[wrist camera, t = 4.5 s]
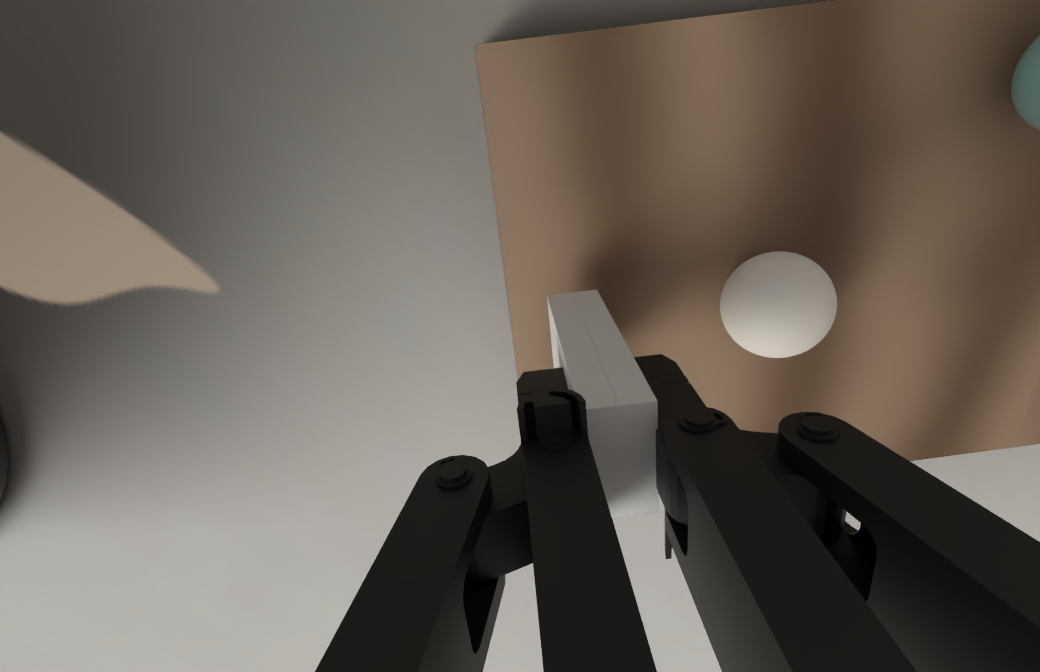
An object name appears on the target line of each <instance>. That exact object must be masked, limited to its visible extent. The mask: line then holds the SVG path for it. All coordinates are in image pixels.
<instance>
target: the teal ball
mask: <svg viewBox="0 0 1040 672" xmlns="http://www.w3.org/2000/svg"><path fill="white" fill-rule="evenodd" d="M1011 95H1012V100H1013V104H1014V106H1015V108H1016V110H1017V112H1018V113H1019V115H1020V116H1021V117H1022V118H1023V119H1024V120H1025V121H1026V122H1027V123H1028V124H1030V125H1031V126H1033V127H1034V128H1036V129H1038V130H1040V35H1039V36H1038V37H1037V38H1036V39H1035V40H1034V41H1033V42H1032V43H1031V44H1030V45H1029V47H1028V48H1027V49H1026V51H1025V52H1024V53H1023V55H1022V57H1021V58H1020V60H1019V62H1018V64H1017V66H1016V68H1015V71H1014V74H1013V78H1012V84H1011Z"/></svg>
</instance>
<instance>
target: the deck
mask: <svg viewBox="0 0 1040 672" xmlns="http://www.w3.org/2000/svg"><path fill="white" fill-rule="evenodd" d="M1039 35H1040V0H831V1H823V2H815V3H807V4H799V5H791V6H783V7H775V8H767V9H758V10H750V11H742V12H734V13H726V14H718V15H710V16H702V17H694V18H686V19H678V20H670V21H662V22H654V23H646V24H638V25H629V26H621V27H613V28H605V29H597V30H589V31H581V32H573V33H565V34H557V35H549V36H541V37H533V38H525V39H517V40H509V41H500V42H492V43H484V44H476V45H475V52H476V59H477V67H478V75H479V82H480V90H481V98H482V105H483V113H484V121H485V128H486V136H487V144H488V151H489V159H490V167H491V174H492V182H493V190H494V197H495V205H496V213H497V220H498V228H499V235H500V243H501V251H502V258H503V266H504V274H505V281H506V289H507V297H508V304H509V312H510V320H511V327H512V335H513V343H514V350H515V358H516V366H517V373H518V380H519V378H520V377H521V375H522V374H523V372H527V371H536V370H544V369H552V368H554V365H553V354H552V344H551V333H550V322H549V312H548V301H547V296H548V295H556V294H564V293H573V292H581V291H589V290H597V291H598V293H599V294H600V296H601V298H602V300H603V302H604V304H605V305H606V307H607V309H608V311H609V313H610V315H611V316H612V318H613V320H614V322H615V324H616V326H617V327H618V329H619V331H620V333H621V335H622V337H623V339H624V340H625V342H626V344H627V346H628V348H629V350H630V351H631V353H632V355H633V357H640V356H649V355H657V354H662V355H664V356H666V357H668V358H669V359H671V360H673V361H675V362H676V363H677V365H678V366H679V367H680V369H681V370H682V372H683V374H684V375H685V376H686V378H687V379H688V381H689V383H691V385H692V386H693V388H694V389H695V391H696V392H697V394H698V395H699V396H700V398H701V399H702V401H703V402H704V404H705V405H706V407H709V408H714V409H716V410H719V411H721V412H724V413H725V414H726V415H728V416H729V417H730V418H731V419H732V420H733V421H734V423H735V424H736V426H737V427H738V428H739V429H741V430H747V431H754V432H768V433H778V424H779V423H780V421H781V420H782V418H784V417H786V416H788V415H790V414H793V413H800V412H819V413H823V414H827V415H831V416H834V417H837V418H839V419H841V420H843V421H845V422H847V423H849V424H850V425H852V426H854V427H855V428H857V429H858V430H860V431H862V432H863V433H865V434H867V435H868V436H870V437H871V438H873V439H875V440H876V441H878V442H879V443H881V444H883V445H884V446H886V447H887V448H889V449H891V450H892V451H894V452H895V453H897V454H899V455H900V456H902V457H904V458H905V459H907V460H908V461H913V460H921V459H928V458H936V457H943V456H951V455H959V454H966V453H974V452H981V451H989V450H996V449H1004V448H1011V447H1019V446H1026V445H1034V444H1040V130H1038V129H1036V128H1034V127H1033V126H1031V125H1030V124H1028V123H1027V122H1026V121H1025V120H1024V119H1023V118H1022V117H1021V116H1020V115H1019V113H1018V112H1017V110H1016V108H1015V106H1014V104H1013V100H1012V95H1011V84H1012V78H1013V74H1014V71H1015V68H1016V66H1017V64H1018V62H1019V60H1020V58H1021V57H1022V55H1023V53H1024V52H1025V51H1026V49H1027V48H1028V47H1029V45H1030V44H1031V43H1032V42H1033V41H1034V40H1035V39H1036V38H1037V37H1038V36H1039ZM776 251H784V252H792V253H797V254H799V255H802V256H805V257H807V258H809V259H811V260H812V261H814V262H815V263H817V264H818V265H819V266H820V267H821V268H822V269H823V270H824V271H825V272H826V273H827V274H828V276H829V277H830V279H831V281H832V283H833V285H834V288H835V291H836V296H837V311H836V316H835V319H834V322H833V324H832V326H831V328H830V330H829V332H828V333H827V334H826V336H825V337H824V338H823V339H822V340H821V341H820V342H819V343H818V344H817V345H815V346H814V347H812V348H811V349H809V350H807V351H806V352H803V353H801V354H798V355H795V356H791V357H786V358H769V357H763V356H759V355H756V354H754V353H752V352H750V351H747V350H745V349H744V348H743V347H741V346H740V345H739V344H737V343H736V342H735V341H734V340H733V339H732V337H731V336H730V335H729V333H728V332H727V330H726V328H725V326H724V324H723V321H722V318H721V313H720V298H721V294H722V290H723V288H724V285H725V283H726V281H727V279H728V278H729V277H730V275H731V274H732V273H733V272H734V270H735V269H736V268H737V267H739V266H740V265H741V264H742V263H744V262H745V261H747V260H749V259H750V258H753V257H755V256H757V255H760V254H763V253H768V252H776ZM658 494H659V493H658Z"/></svg>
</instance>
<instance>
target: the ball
mask: <svg viewBox="0 0 1040 672" xmlns="http://www.w3.org/2000/svg"><path fill="white" fill-rule="evenodd" d="M836 311H837V296H836V291H835V288H834V285H833V283H832V281H831V279H830V277H829V276H828V274H827V273H826V272H825V271H824V270H823V269H822V268H821V267H820V266H819V265H818V264H817V263H815V262H814V261H812V260H811V259H809V258H807V257H805V256H802V255H799V254H797V253H792V252H784V251H776V252H768V253H763V254H760V255H757V256H755V257H753V258H750V259H749V260H747V261H745V262H744V263H742V264H741V265H740V266H739V267H737V268H736V269H735V270H734V272H733V273H732V274H731V275H730V277H729V278H728V279H727V281H726V283H725V285H724V288H723V290H722V294H721V298H720V313H721V318H722V321H723V324H724V326H725V328H726V330H727V332H728V333H729V335H730V336H731V337H732V339H733V340H734V341H735V342H736V343H737V344H739V345H740V346H741V347H743V348H744V349H745V350H747V351H750V352H752V353H754V354H756V355H759V356H763V357H769V358H786V357H791V356H795V355H798V354H801V353H803V352H806V351H807V350H809V349H811V348H812V347H814V346H815V345H817V344H818V343H819V342H820V341H821V340H822V339H823V338H824V337H825V336H826V334H827V333H828V332H829V330H830V328H831V326H832V324H833V322H834V319H835V316H836Z"/></svg>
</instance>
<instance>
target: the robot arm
mask: <svg viewBox="0 0 1040 672" xmlns="http://www.w3.org/2000/svg"><path fill="white" fill-rule="evenodd" d="M547 301H548V312H549V322H550V333H551V344H552V354H553V365H554V368H552V369H544V370H536V371H527V372H523V374H522V375H521V377H520V378H519V380H518V381H517V393H518V408H517V413H518V420H519V428H520V436H521V445H520V447H519V449H518V450H517V451H516V452H515V453H514V454H513V455H512V456H511V457H509V458H508V459H506V460H505V461H502V462H500V463H498V464H496V465H493V466H490V467H487V466H486V464H485V463H484V461H482V460H480V459H478V458H476V457H472V456H466V455H459V456H450V457H447V458H444V459H441V460H438V461H436V462H435V463H433V464H431V465H430V466H428V467H427V468H426V469H425V470H424V472H423V473H422V474H421V475H420V477H419V479H418V481H417V482H416V484H415V486H414V488H413V490H412V492H411V494H410V496H409V497H408V499H407V501H406V503H405V505H404V507H403V509H402V510H401V512H400V514H399V516H398V518H397V520H396V522H395V524H394V525H393V527H392V529H391V531H390V533H389V535H388V537H387V538H386V540H385V542H384V544H383V546H382V548H381V550H380V551H379V553H378V555H377V557H376V559H375V561H374V563H373V565H372V566H371V568H370V570H369V572H368V574H367V576H366V578H365V579H364V581H363V583H362V585H361V587H360V589H359V591H358V593H357V594H356V596H355V598H354V600H353V602H352V604H351V606H350V607H349V609H348V611H347V613H346V615H345V617H344V619H343V621H342V622H341V624H340V626H339V628H338V630H337V632H336V634H335V635H334V637H333V639H332V641H331V643H330V645H329V647H328V648H327V650H326V652H325V654H324V656H323V658H322V660H321V662H320V663H319V665H318V667H317V669H316V671H315V672H483V668H484V664H485V660H486V656H487V652H488V648H489V644H490V640H491V636H492V633H493V629H494V625H495V621H496V617H497V613H498V609H499V605H500V601H501V597H502V594H503V590H504V586H505V574H507V573H510V572H512V571H514V570H517V569H519V568H522V567H524V566H527V565H529V564H531V563H533V566H534V576H535V586H536V597H537V607H538V617H539V627H540V638H541V648H542V658H543V668H544V672H657V671H656V667H655V664H654V661H653V657H652V654H651V650H650V647H649V644H648V640H647V637H646V633H645V630H644V626H643V623H642V620H641V616H640V613H639V609H638V606H637V602H636V599H635V596H634V592H633V589H632V585H631V582H630V579H629V575H628V572H627V568H626V565H625V561H624V558H623V555H622V551H621V548H620V544H619V541H618V537H617V534H616V531H615V527H614V524H613V520H612V518H619V517H628V516H636V515H644V514H653V513H659V499H658V493H659V495H660V497H661V500H662V502H663V504H664V507H665V555H666V559H670V558H671V549H672V547H673V550H674V552H675V555H676V557H677V560H678V562H679V565H680V567H681V570H682V572H683V575H684V577H685V580H686V582H687V585H688V587H689V590H690V592H691V595H692V597H693V600H694V602H695V605H696V607H697V610H698V612H699V615H700V617H701V620H702V622H703V625H704V627H705V630H706V632H707V635H708V637H709V640H710V642H711V645H712V647H713V650H714V652H715V655H716V657H717V660H718V662H719V665H720V667H721V670H722V672H1040V542H1039V541H1037V540H1035V539H1034V538H1032V537H1031V536H1029V535H1027V534H1026V533H1024V532H1023V531H1021V530H1019V529H1018V528H1016V527H1015V526H1013V525H1011V524H1010V523H1008V522H1006V521H1005V520H1003V519H1002V518H1000V517H998V516H997V515H995V514H994V513H992V512H990V511H989V510H987V509H986V508H984V507H982V506H981V505H979V504H978V503H976V502H974V501H973V500H971V499H969V498H968V497H966V496H965V495H963V494H961V493H960V492H958V491H957V490H955V489H953V488H952V487H950V486H949V485H947V484H945V483H944V482H942V481H941V480H939V479H937V478H936V477H934V476H932V475H931V474H929V473H928V472H926V471H924V470H923V469H921V468H920V467H918V466H916V465H915V464H913V463H912V462H910V461H908V460H907V459H905V458H904V457H902V456H900V455H899V454H897V453H895V452H894V451H892V450H891V449H889V448H887V447H886V446H884V445H883V444H881V443H879V442H878V441H876V440H875V439H873V438H871V437H870V436H868V435H867V434H865V433H863V432H862V431H860V430H858V429H857V428H855V427H854V426H852V425H850V424H849V423H847V422H845V421H843V420H841V419H839V418H837V417H834V416H831V415H827V414H823V413H819V412H800V413H793V414H790V415H788V416H786V417H784V418H782V420H781V421H780V423H779V424H778V433H768V432H754V431H747V430H741V429H739V428H738V427H737V426H736V424H735V423H734V421H733V420H732V419H731V418H730V417H729V416H728V415H726V414H725V413H724V412H721V411H719V410H716V409H714V408H709V407H706V405H705V404H704V402H703V401H702V399H701V398H700V396H699V395H698V394H697V392H696V391H695V389H694V388H693V386H692V385H691V383H689V381H688V379H687V378H686V376H685V375H684V374H683V372H682V370H681V369H680V367H679V366H678V365H677V363H676V362H675V361H673V360H671V359H669V358H668V357H666V356H664V355H662V354H657V355H649V356H640V357H633V355H632V353H631V351H630V350H629V348H628V346H627V344H626V342H625V340H624V339H623V337H622V335H621V333H620V331H619V329H618V327H617V326H616V324H615V322H614V320H613V318H612V316H611V315H610V313H609V311H608V309H607V307H606V305H605V304H604V302H603V300H602V298H601V296H600V294H599V293H598V291H597V290H589V291H581V292H573V293H564V294H556V295H548V296H547ZM7 472H8V455H7V447H6V440H5V436H4V432H3V428H2V425H1V422H0V501H1V499H2V496H3V493H4V490H5V486H6V480H7ZM846 511H847V512H848V513H850V514H851V515H852V516H853V517H855V518H856V519H857V520H858V521H860V522H861V526H860V530H859V531H858V530H856V529H855V528H853V527H852V526H850V525H849V524H848V523H847V522H845V517H846Z"/></svg>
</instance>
